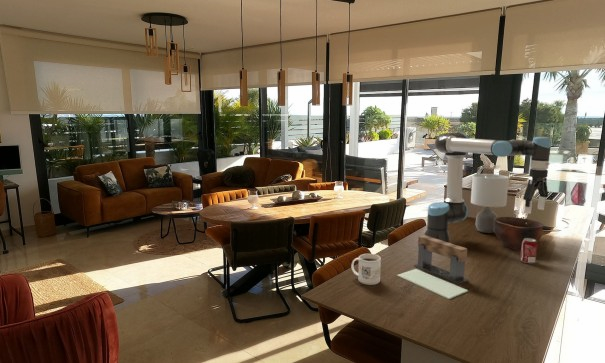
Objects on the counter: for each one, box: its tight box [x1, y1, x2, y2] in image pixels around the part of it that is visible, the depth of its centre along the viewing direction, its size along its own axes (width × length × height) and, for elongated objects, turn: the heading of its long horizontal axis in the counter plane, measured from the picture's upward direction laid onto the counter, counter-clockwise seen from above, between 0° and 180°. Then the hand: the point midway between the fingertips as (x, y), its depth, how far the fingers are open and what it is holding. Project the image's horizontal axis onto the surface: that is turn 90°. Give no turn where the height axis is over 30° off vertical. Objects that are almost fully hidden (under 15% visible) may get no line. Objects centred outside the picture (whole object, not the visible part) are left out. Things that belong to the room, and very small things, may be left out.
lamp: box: [470, 173, 510, 234], centre depth 245 cm, size 21×21×37 cm
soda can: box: [519, 238, 538, 265], centre depth 195 cm, size 7×7×12 cm
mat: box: [396, 268, 469, 300], centre depth 171 cm, size 28×13×1 cm, turn 34°
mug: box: [350, 253, 382, 286], centre depth 174 cm, size 10×12×11 cm
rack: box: [413, 244, 469, 285], centre depth 181 cm, size 25×7×12 cm, turn 34°
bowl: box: [493, 216, 545, 251], centre depth 218 cm, size 25×25×15 cm
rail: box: [417, 234, 468, 262], centre depth 180 cm, size 24×4×6 cm, turn 34°
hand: (534, 211), depth 189 cm, fingers open, 13 cm apart
